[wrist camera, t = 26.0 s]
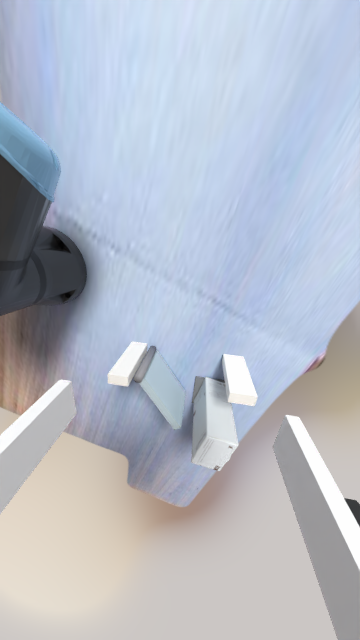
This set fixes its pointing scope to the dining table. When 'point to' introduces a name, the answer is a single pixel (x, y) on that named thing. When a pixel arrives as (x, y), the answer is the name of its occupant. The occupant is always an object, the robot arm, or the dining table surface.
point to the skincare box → (213, 426)
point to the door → (162, 387)
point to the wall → (233, 366)
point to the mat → (198, 385)
